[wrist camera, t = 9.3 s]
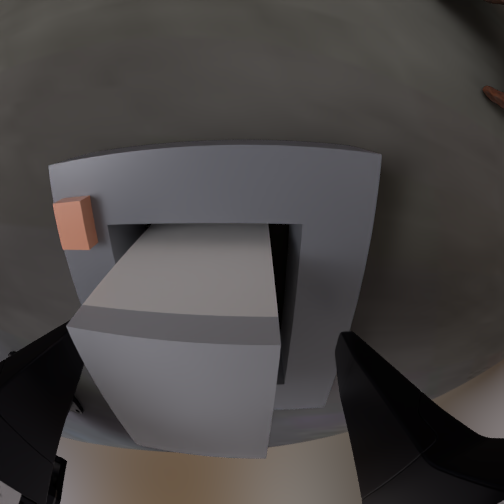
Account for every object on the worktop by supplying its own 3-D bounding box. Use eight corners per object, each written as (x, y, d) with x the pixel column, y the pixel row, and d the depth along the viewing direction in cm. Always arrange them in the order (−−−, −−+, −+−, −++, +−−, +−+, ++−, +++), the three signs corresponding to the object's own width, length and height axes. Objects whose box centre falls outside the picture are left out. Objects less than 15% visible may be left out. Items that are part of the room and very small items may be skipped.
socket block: (315, 364, 15) (325, 416, 11) (138, 357, 15) (119, 404, 11) (349, 145, 10) (391, 157, 6) (92, 152, 10) (37, 169, 6)
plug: (263, 325, 13) (265, 458, 7) (175, 322, 13) (136, 444, 7) (267, 215, 11) (280, 344, 5) (159, 216, 11) (65, 325, 5)
